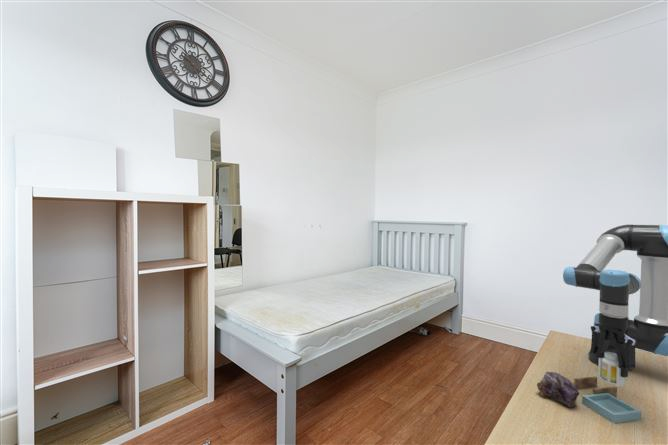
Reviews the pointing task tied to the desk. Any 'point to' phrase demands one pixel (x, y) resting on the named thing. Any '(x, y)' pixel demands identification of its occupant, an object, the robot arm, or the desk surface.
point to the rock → (558, 389)
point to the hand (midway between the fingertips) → (611, 380)
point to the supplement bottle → (609, 367)
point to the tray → (611, 407)
